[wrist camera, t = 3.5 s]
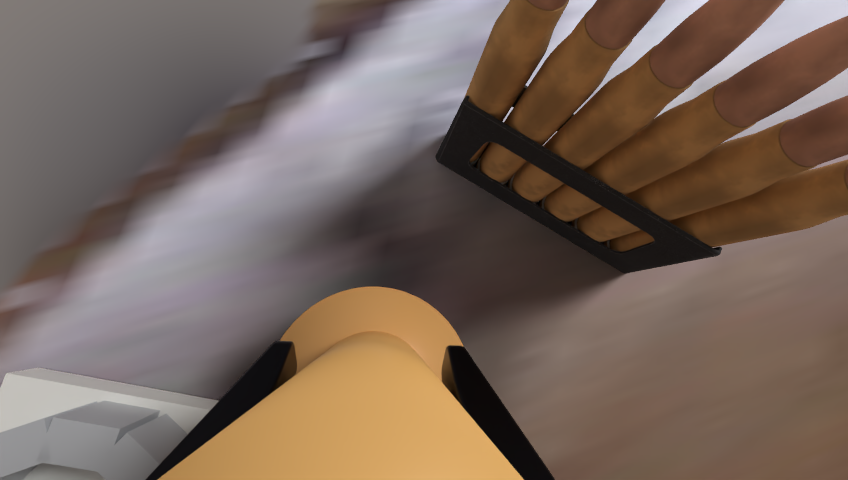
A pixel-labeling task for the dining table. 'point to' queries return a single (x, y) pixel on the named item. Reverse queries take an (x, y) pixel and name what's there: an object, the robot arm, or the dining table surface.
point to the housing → (89, 426)
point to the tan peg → (357, 404)
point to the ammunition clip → (652, 131)
